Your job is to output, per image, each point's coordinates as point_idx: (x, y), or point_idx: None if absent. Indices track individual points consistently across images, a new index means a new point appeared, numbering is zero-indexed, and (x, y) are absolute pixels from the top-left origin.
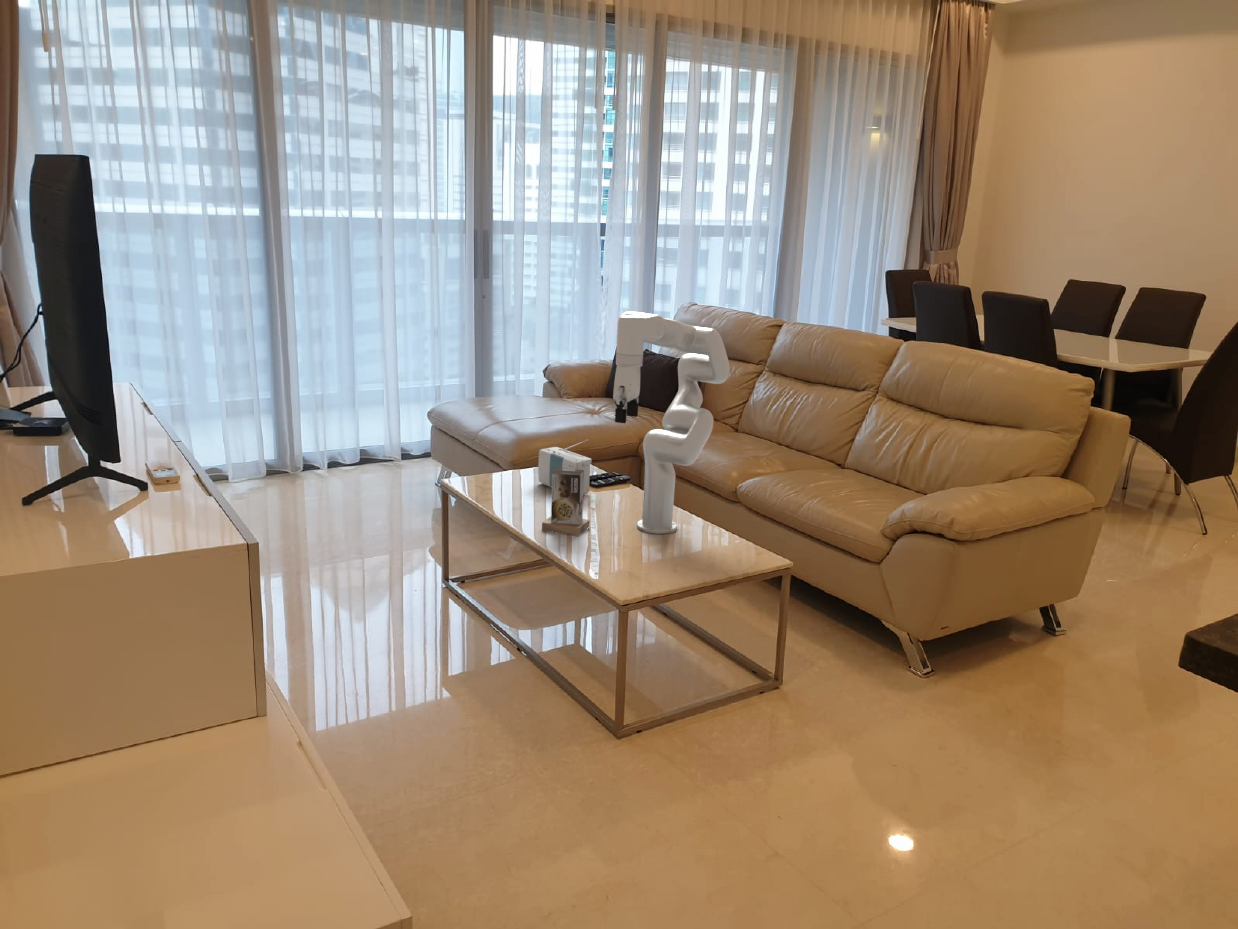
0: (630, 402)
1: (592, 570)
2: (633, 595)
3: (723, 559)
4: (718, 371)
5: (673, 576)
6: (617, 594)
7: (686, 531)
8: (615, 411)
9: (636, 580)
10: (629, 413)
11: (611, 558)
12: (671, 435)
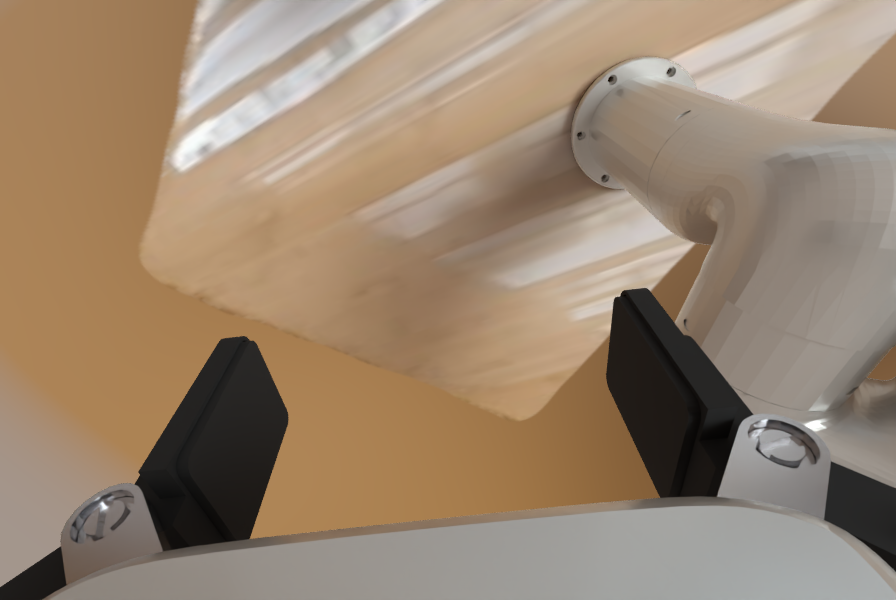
0: (697, 448)
1: (212, 130)
2: (177, 279)
3: (485, 341)
4: None
5: (329, 300)
6: (151, 251)
7: (633, 210)
8: (167, 431)
9: (249, 250)
10: (621, 335)
11: (323, 131)
12: (798, 357)
